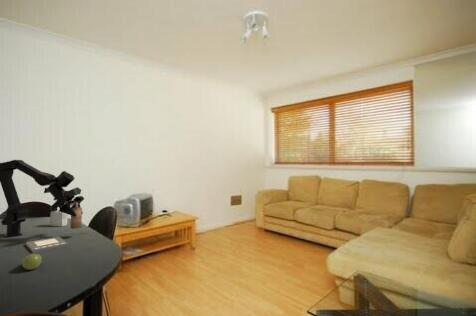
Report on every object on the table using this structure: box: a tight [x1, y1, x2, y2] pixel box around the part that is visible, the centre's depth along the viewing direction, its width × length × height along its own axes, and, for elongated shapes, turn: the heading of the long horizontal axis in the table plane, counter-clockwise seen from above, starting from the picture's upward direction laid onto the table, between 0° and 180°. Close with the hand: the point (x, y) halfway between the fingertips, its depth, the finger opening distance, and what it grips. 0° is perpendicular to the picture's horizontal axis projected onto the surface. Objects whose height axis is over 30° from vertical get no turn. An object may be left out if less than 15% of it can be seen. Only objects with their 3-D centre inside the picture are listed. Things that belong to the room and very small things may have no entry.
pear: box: [21, 253, 43, 271], centre depth 95 cm, size 6×5×10 cm
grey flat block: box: [25, 236, 69, 254], centre depth 119 cm, size 16×13×1 cm
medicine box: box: [49, 210, 68, 227], centre depth 157 cm, size 8×4×9 cm, turn 84°
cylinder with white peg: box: [70, 203, 83, 230], centre depth 134 cm, size 5×5×13 cm
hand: (78, 214), depth 134 cm, fingers closed on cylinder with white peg, 5 cm apart
